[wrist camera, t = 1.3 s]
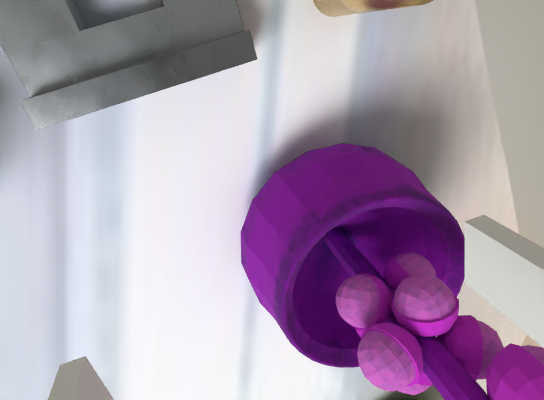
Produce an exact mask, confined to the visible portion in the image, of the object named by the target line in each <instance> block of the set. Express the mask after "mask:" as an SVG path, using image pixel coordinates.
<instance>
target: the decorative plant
mask: <svg viewBox="0 0 544 400" xmlns="http://www.w3.org/2000/svg"><path fill="white" fill-rule="evenodd" d="M241 263H242V265H243V267H244V270H245V272H246V274H247V277H248V279H249V281H250V283H251V285H252V287H253V289H254V291H255V293H256V295H257V297H258V300H259V302H260V303H261V304H262V305H263V307H264V308H265V309H266V310H267V311H268V312H269V313H270V314H271V315H272V316H273V317H274V318H275V320H276V321H277V323H278V325H279V326H280V328H281V329H282V331H283V332H284V334H285V335H286V337H287V338H288V340H289V341H290V343H291V344H292V345H293V346H294V347H295V348H296V349H297V350H298V351H299V352H300V353H302V354H303V355H305V356H306V357H308V358H310V359H311V360H313V361H315V362H318V363H321V364H324V365H328V366H334V367H360V368H361V370H362V372H363V374H364V376H365V377H366V378H367V379H368V380H369V381H370V382H371V383H372V384H373V385H374V386H376V387H378V388H381V389H383V390H385V391H399V392H402V393H406V394H411V395H416V394H419V393H421V392H424V391H425V390H427V389H428V388H429V387H430V386H433V385H434V386H435V387H436V389H437V390H438V391H439V393H440V394H441V395H442V397H443V398H444V399H445V400H544V348H542V347H535V346H530V345H527V346H519V345H515V344H511V343H510V344H509V345H507V346H506V347H505V348H504V347H503V345H502V342H501V340H500V338H499V336H498V334H497V332H496V331H495V330H493V329H492V328H491V327H489V326H488V325H487V324H485V323H483V322H481V321H478V320H476V319H475V318H474V317H473V316H471V315H464V316H458V310H459V300H458V299H457V298H456V297H457V295H458V293H459V292H460V289H461V286H462V283H463V281H464V278H465V238H464V235H463V233H462V231H461V228H460V226H459V224H458V222H457V221H456V219H455V218H454V217H453V216H452V214H451V213H450V212H449V211H448V210H447V209H446V208H445V207H444V206H443V205H442V204H441V203H440V202H439V201H438V200H437V199H436V198H435V197H434V196H433V195H432V194H430V193H429V192H428V191H427V190H426V188H425V187H424V186H423V184H422V183H421V181H420V180H419V179H418V177H417V176H416V175H415V173H414V172H413V171H411V170H410V169H408V168H407V167H405V166H404V165H402V164H401V163H399V162H398V161H396V160H394V159H393V158H391V157H389V156H388V155H386V154H384V153H383V152H381V151H379V150H378V149H376V148H374V147H366V146H359V145H351V144H344V143H341V144H337V145H333V146H329V147H325V148H321V149H316V150H312V151H308V152H306V153H305V154H303V155H301V156H300V157H298V158H297V159H295V160H293V161H292V162H290V163H289V164H287V165H286V166H284V167H282V168H281V169H279V170H278V171H276V172H275V173H274V174H273V176H272V177H271V178H270V179H269V181H268V182H267V183H266V184H265V185H264V187H263V188H262V189H261V190H260V191H259V193H258V194H257V195H256V196H255V198H254V199H253V200H252V203H251V205H250V208H249V211H248V214H247V216H246V219H245V222H244V225H243V227H242V230H241ZM436 336H437V337H436ZM477 379H486V382H487V394H486V393H485V391H484V390H483V389H482V388H481V387H480V386H479V384H478V383H477V382H476V380H477Z"/></svg>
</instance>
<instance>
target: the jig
mask: <svg viewBox="0 0 544 400" xmlns="http://www.w3.org/2000/svg"><path fill="white" fill-rule="evenodd" d="M162 2H163V5H164V6H163V7H159V8H156V9H153V10H149V11H146V12H142V13H139V14H136V15H132V16H129V17H125V18H122V19H119V20H115V21H112V22H109V23H105V24H102V25H98V26H95V27H92V28H88V29H87V28H86V26H85V24H84V22H83V20H82V17H81V15H80V13H79V11H78V9H77V6H76V4H75V2H74V0H0V45H1V46H2V48H3V50H4V52H5V54H6V55H7V57H8V59H9V61H10V62H11V64H12V66H13V68H14V69H15V71H16V73H17V75H18V76H19V78H20V80H21V82H22V84H23V85H24V87H25V89H26V91H27V92H28V94H29V96H30V97H29V98H27V99H24V100H22V101H20V102H21V104H22V106H23V108H24V109H25V111H26V113H27V114H28V116H29V118H30V120H31V121H32V123H33V125H34V127H35V128H36V130H38V129H42V128H45V127H48V126H51V125H54V124H57V123H60V122H63V121H67V120H70V119H73V118H76V117H79V116H82V115H85V114H88V113H91V112H95V111H98V110H101V109H104V108H107V107H110V106H113V105H116V104H120V103H123V102H126V101H129V100H132V99H135V98H138V97H141V96H144V95H148V94H151V93H154V92H157V91H160V90H163V89H166V88H169V87H172V86H176V85H179V84H182V83H185V82H188V81H191V80H194V79H197V78H201V77H204V76H207V75H210V74H213V73H216V72H219V71H222V70H225V69H229V68H232V67H235V66H238V65H241V64H244V63H247V62H250V61H254V60H257V56H256V52H255V49H254V45H253V41H252V38H251V34H250V30H245V31H244V28H243V24H242V20H241V17H240V13H239V10H238V6H237V3H236V0H162Z"/></svg>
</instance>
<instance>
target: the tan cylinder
mask: <svg viewBox="0 0 544 400" xmlns="http://www.w3.org/2000/svg"><path fill="white" fill-rule="evenodd" d="M431 1H433V0H313V2H314V4H315V5H316V7H317V8H318V9H319V10H320V11H321V12H322V13H323V14H325V15H328V16H333V17H335V16H343V15H351V14H358V13H365V12H372V11H380V10H387V9H394V8H401V7H409V6H416V5H422V4H426V3H429V2H431Z"/></svg>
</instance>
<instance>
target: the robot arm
mask: <svg viewBox="0 0 544 400" xmlns="http://www.w3.org/2000/svg"><path fill="white" fill-rule="evenodd" d="M465 284H467V285H468V286H469V287H470V288H471V289H473V290H474V291H475V292H476V293H477V294H479V295H480V296H481V297H482V298H483V299H485V300H486V301H487V302H488V303H489V304H491V305H492V306H493V307H494V308H496V309H497V310H498V311H499V312H500V313H502V314H503V315H504V316H505V317H506V318H508V319H509V320H510V321H511V322H512V323H514V324H515V325H516V326H517V327H518V328H520V329H521V330H522V331H523V332H525V333H526V334H527V335H528V336H529V337H531V338H532V339H533V340H534V341H536V342H537V343H538V344H539V345H540V346H541V347H543V348H544V248H543V247H541V246H539V245H537V244H535V243H534V242H532V241H530V240H528V239H526V238H524V237H523V236H521V235H519V234H517V233H516V232H514V231H512V230H510V229H509V228H507V227H505V226H503V225H501V224H500V223H498V222H496V221H494V220H492V219H491V218H489V217H487V216H485V215H482V216H479V217H476V218H474V219H471V220H468V221H465ZM48 400H114V399H113V398H112V396H111V395H110V393H109V392H108V390H107V388H106V387H105V385H104V384H103V382H102V381H101V379H100V378H99V376H98V375H97V373H96V372H95V370H94V368H93V367H92V365H91V364H90V362H89V361H88V359H87V358H86V356H85V357H82V358H79V359H76V360H73V361H71V362H68V363H65V364H62V365H60V367H59V370H58V372H57V375H56V378H55V381H54V384H53V387H52V390H51V392H50V395H49V398H48Z"/></svg>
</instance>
